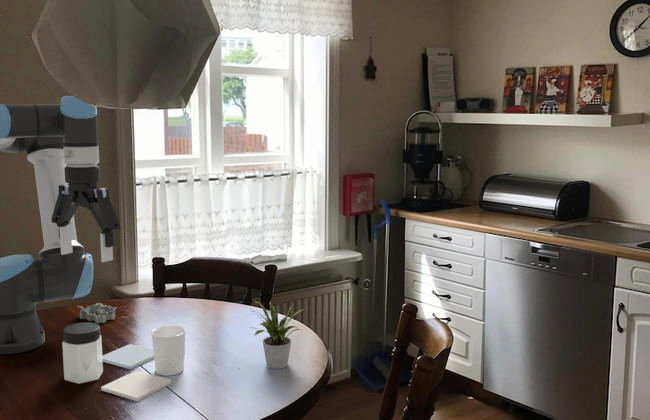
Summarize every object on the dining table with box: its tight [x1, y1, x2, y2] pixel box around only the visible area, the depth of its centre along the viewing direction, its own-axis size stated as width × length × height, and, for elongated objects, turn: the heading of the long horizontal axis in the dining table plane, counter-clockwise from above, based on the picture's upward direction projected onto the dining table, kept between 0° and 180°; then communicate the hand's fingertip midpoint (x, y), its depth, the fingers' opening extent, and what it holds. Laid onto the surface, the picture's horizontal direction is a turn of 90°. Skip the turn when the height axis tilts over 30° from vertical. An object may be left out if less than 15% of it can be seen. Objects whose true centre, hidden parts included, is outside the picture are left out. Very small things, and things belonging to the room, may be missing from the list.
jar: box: [61, 321, 104, 384], centre depth 164 cm, size 9×8×12 cm
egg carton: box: [76, 302, 118, 324], centre depth 207 cm, size 11×8×4 cm
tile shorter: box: [100, 370, 172, 402], centre depth 160 cm, size 11×11×1 cm
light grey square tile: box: [102, 343, 154, 370], centre depth 177 cm, size 11×11×1 cm
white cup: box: [151, 325, 186, 377], centre depth 168 cm, size 8×8×10 cm
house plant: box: [249, 300, 305, 370], centre depth 172 cm, size 14×14×16 cm
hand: (86, 257), depth 161 cm, fingers open, 13 cm apart
